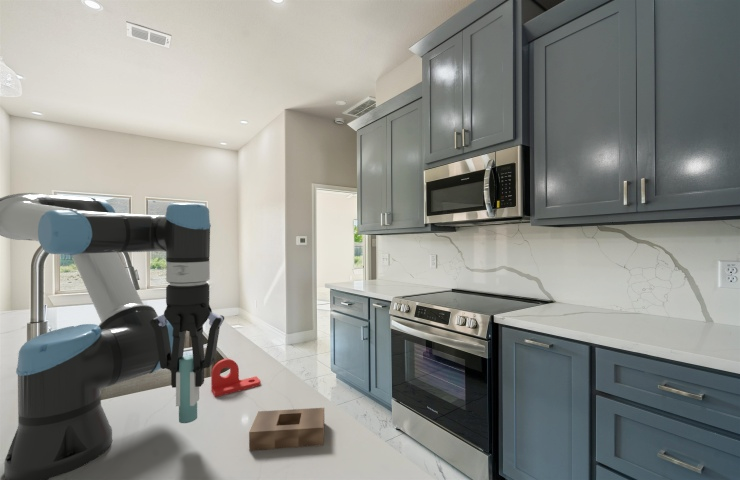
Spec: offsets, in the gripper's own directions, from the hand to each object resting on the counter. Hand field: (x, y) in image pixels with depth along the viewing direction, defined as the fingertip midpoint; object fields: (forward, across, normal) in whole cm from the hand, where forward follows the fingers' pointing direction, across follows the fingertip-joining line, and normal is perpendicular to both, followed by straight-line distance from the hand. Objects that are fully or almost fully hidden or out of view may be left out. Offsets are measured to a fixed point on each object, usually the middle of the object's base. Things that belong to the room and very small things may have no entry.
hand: (187, 402), depth 68 cm
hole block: (+8, +20, +1) cm, 21 cm away
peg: (+3, 0, 0) cm, 3 cm away
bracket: (+9, +2, +26) cm, 27 cm away
